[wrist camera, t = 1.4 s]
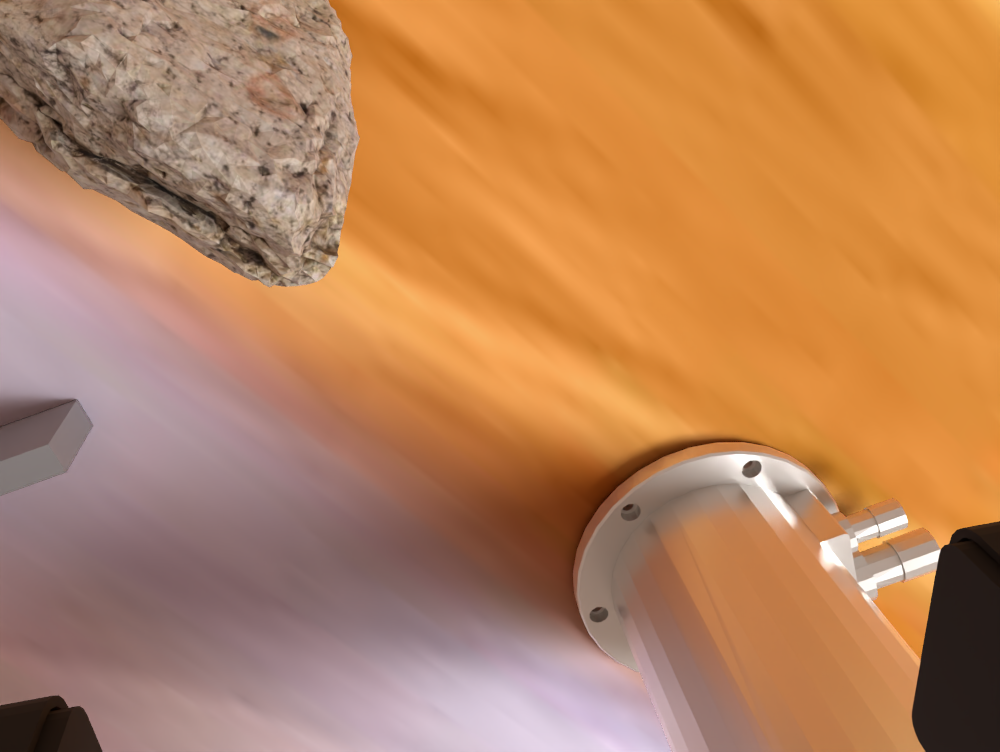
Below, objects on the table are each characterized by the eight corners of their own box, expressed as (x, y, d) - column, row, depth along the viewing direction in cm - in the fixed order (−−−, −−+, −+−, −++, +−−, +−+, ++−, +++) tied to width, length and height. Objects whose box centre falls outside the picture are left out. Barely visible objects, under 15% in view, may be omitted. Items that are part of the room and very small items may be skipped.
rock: (-216, 151, 23) (-234, -168, 18) (32, 40, 31) (65, -201, 26) (263, 400, 25) (364, 168, 20) (380, 233, 33) (471, 39, 28)
